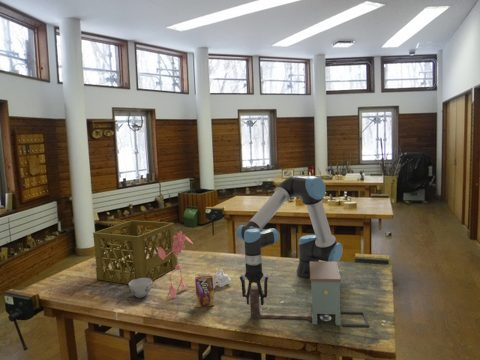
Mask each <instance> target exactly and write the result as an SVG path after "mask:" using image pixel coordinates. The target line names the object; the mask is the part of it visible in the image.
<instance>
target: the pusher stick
mask: <svg viewBox="0 0 480 360" xmlns="http://www.w3.org/2000/svg"><path fill="white" fill-rule="evenodd" d="M259 297H260V294H259V289H258V286H257V285H251V288H250V307H251V312H250V319H260V318H262V319H263V318H265V319H268V318H271V319H297V320H307V321H310V322H311V321H312V312H311V311H307V314H305V313H304V314H302V313H299V314H298V313H297V314H296V313H272V312H271V313H270V312H269V313H268V312H261V313H260V312H259Z"/></svg>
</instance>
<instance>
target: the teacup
mask: <svg viewBox="0 0 480 360" xmlns="http://www.w3.org/2000/svg"><path fill="white" fill-rule="evenodd" d="M152 284H153V280H151V279H149V278H139V279H135V280H132V281H130V282H129V284H128V288H129V290H130V293H131V294H132V295H133V296H135V297H136V298H144V297H146V296H148V293H150V291H151V288H152Z"/></svg>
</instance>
